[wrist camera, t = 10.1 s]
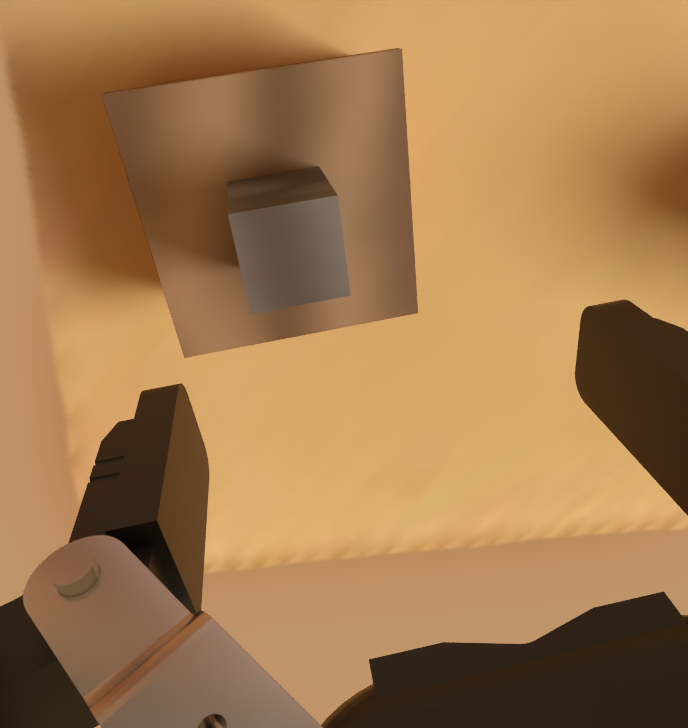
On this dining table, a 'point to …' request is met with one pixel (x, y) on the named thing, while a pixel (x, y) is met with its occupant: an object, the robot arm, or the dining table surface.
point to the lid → (274, 197)
